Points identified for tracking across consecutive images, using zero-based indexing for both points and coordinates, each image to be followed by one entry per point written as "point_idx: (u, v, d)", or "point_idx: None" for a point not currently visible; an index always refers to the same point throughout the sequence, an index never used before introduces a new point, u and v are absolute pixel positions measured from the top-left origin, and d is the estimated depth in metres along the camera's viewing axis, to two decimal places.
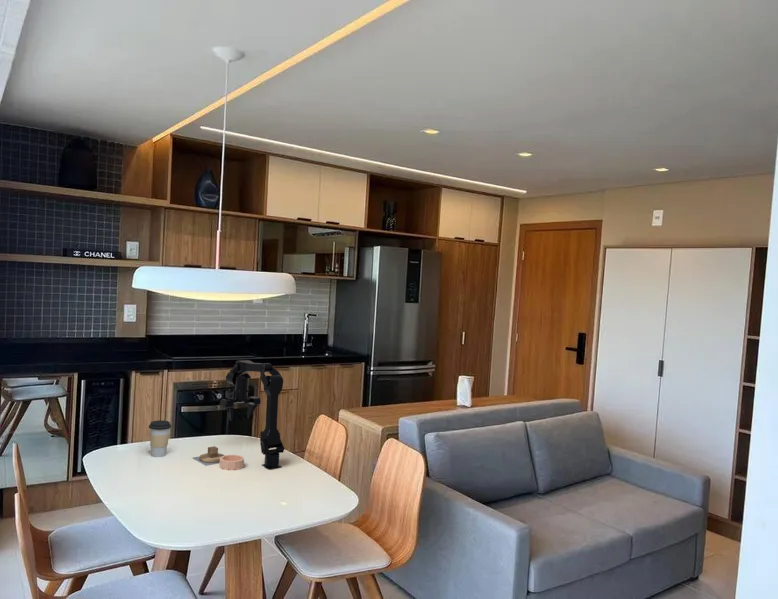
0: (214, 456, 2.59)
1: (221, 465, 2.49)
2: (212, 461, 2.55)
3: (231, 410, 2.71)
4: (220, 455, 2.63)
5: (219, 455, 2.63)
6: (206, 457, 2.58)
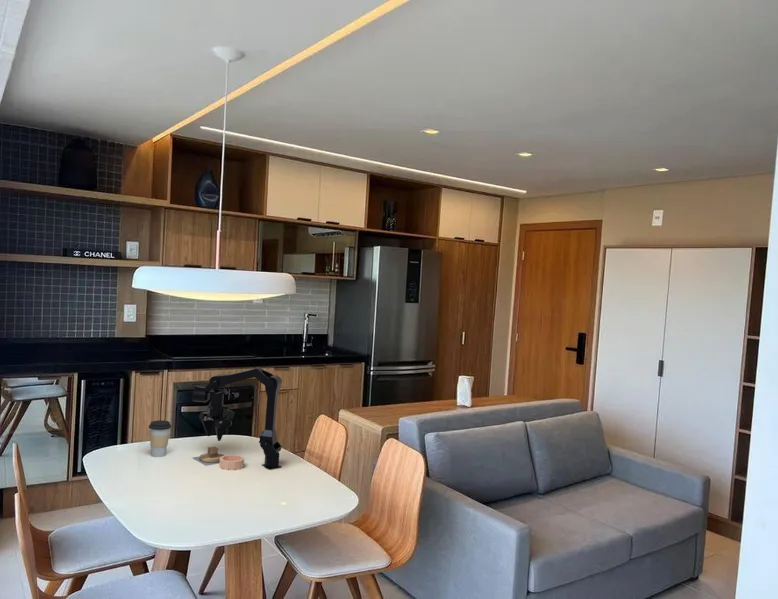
0: (214, 456, 2.59)
1: (221, 465, 2.49)
2: (212, 461, 2.55)
3: (202, 423, 2.62)
4: (220, 455, 2.63)
5: (219, 455, 2.63)
6: (206, 457, 2.58)
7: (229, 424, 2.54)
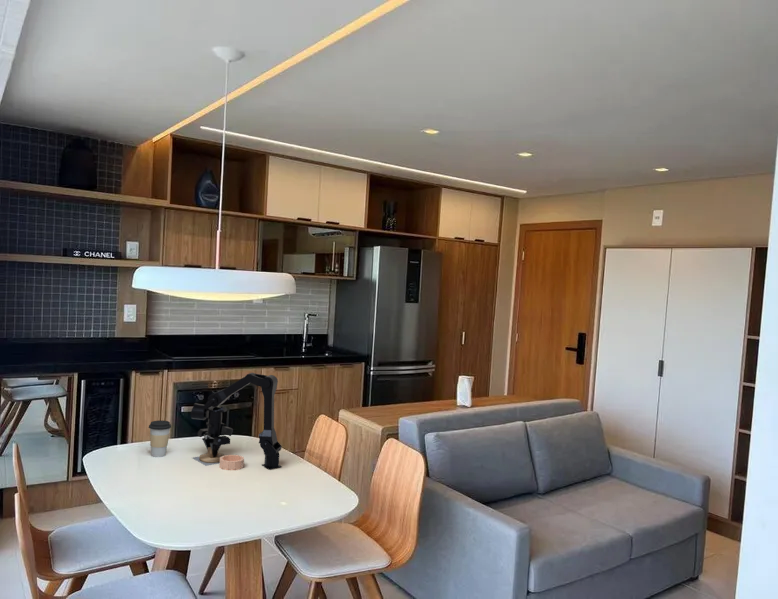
0: None
1: (221, 465, 2.49)
2: (212, 461, 2.55)
3: (204, 442, 2.61)
4: (220, 455, 2.63)
5: (219, 455, 2.63)
6: (206, 457, 2.58)
7: (228, 442, 2.55)
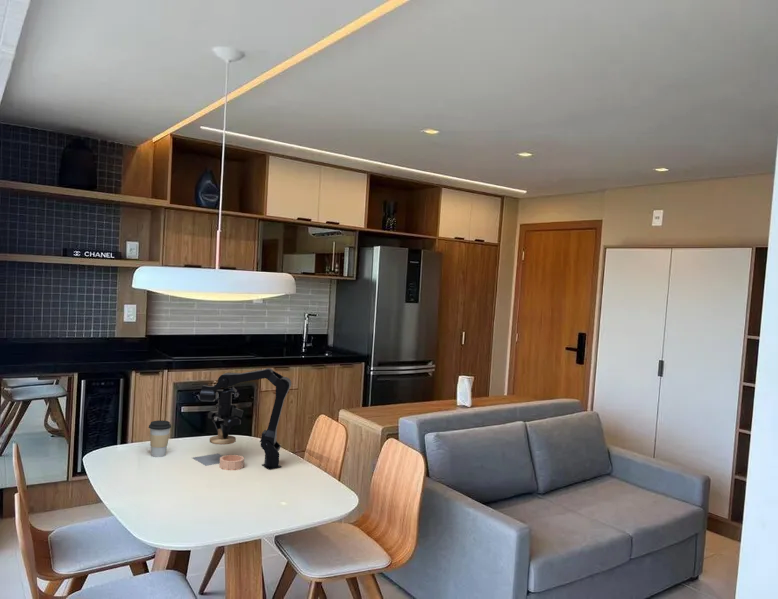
0: None
1: (221, 465, 2.49)
2: (222, 442, 2.51)
3: (214, 424, 2.57)
4: (230, 437, 2.59)
5: (229, 437, 2.59)
6: (216, 439, 2.55)
7: (238, 423, 2.51)
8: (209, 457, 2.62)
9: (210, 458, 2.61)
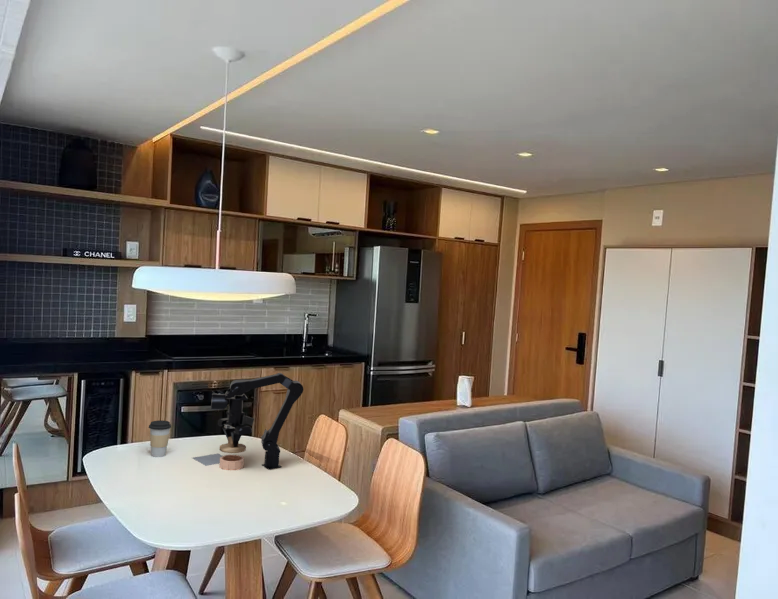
0: None
1: (221, 465, 2.49)
2: (233, 451, 2.47)
3: (224, 432, 2.53)
4: (241, 445, 2.55)
5: (240, 445, 2.55)
6: (226, 447, 2.50)
7: (249, 431, 2.47)
8: (209, 457, 2.62)
9: (210, 458, 2.61)
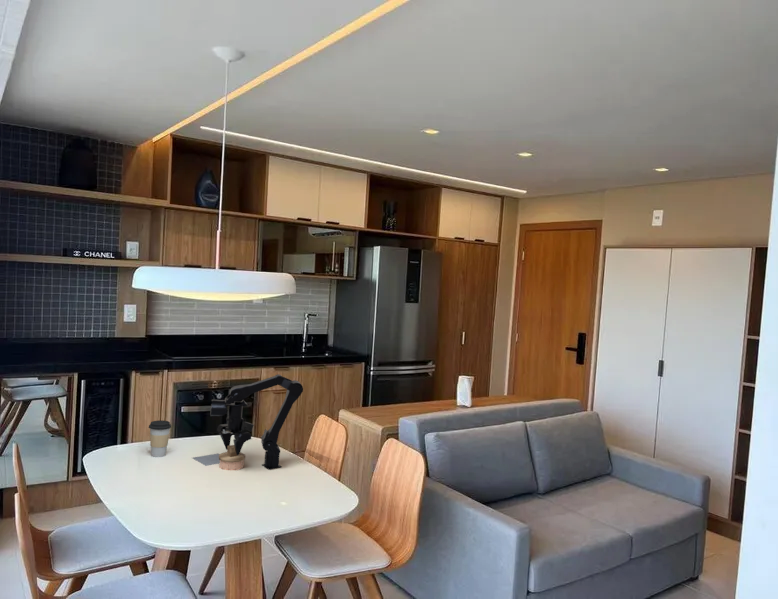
0: (234, 455, 2.51)
1: (221, 465, 2.49)
2: (232, 460, 2.47)
3: (221, 436, 2.54)
4: (240, 454, 2.55)
5: (239, 454, 2.55)
6: (226, 456, 2.51)
7: (249, 438, 2.47)
8: (209, 457, 2.62)
9: (210, 458, 2.61)
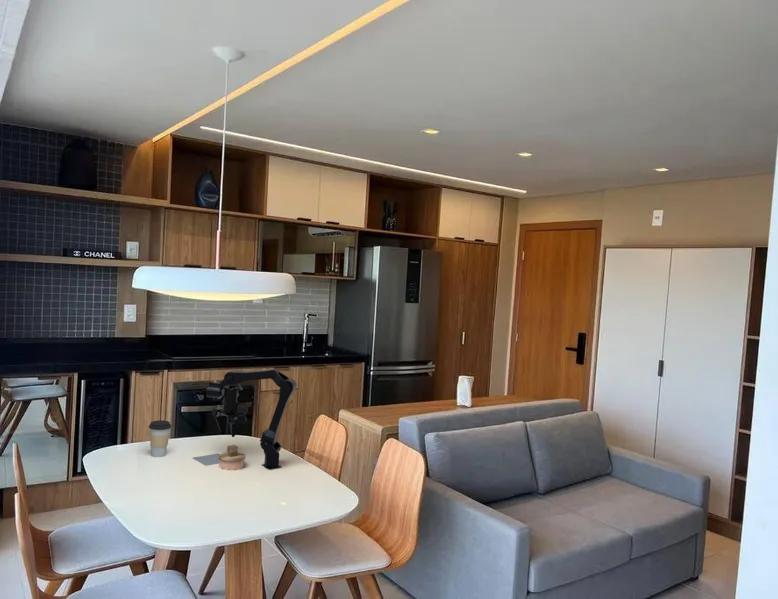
0: (234, 455, 2.51)
1: (221, 465, 2.49)
2: (232, 460, 2.47)
3: (215, 419, 2.60)
4: (240, 454, 2.55)
5: (239, 454, 2.55)
6: (226, 456, 2.51)
7: (244, 420, 2.53)
8: (209, 457, 2.62)
9: (210, 458, 2.61)
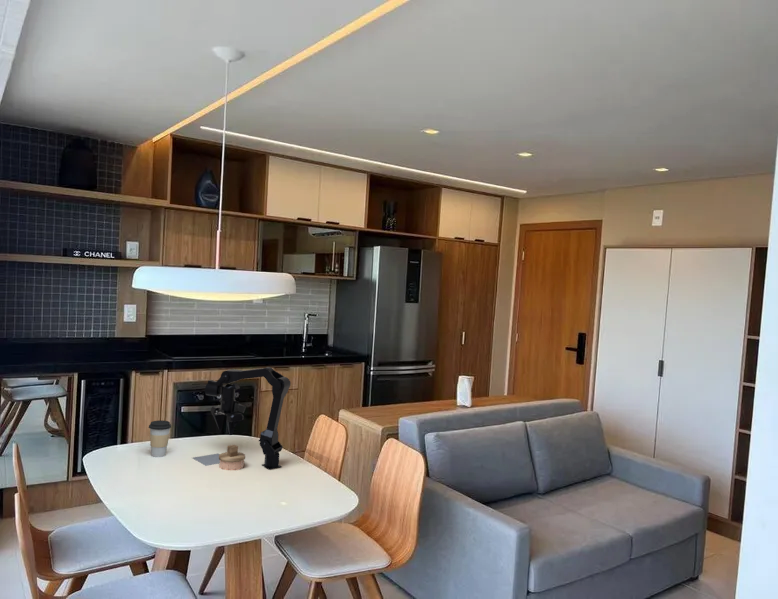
0: (234, 455, 2.51)
1: (221, 465, 2.49)
2: (232, 460, 2.47)
3: (214, 417, 2.65)
4: (240, 454, 2.55)
5: (239, 454, 2.55)
6: (226, 456, 2.51)
7: (241, 418, 2.57)
8: (209, 457, 2.62)
9: (210, 458, 2.61)
